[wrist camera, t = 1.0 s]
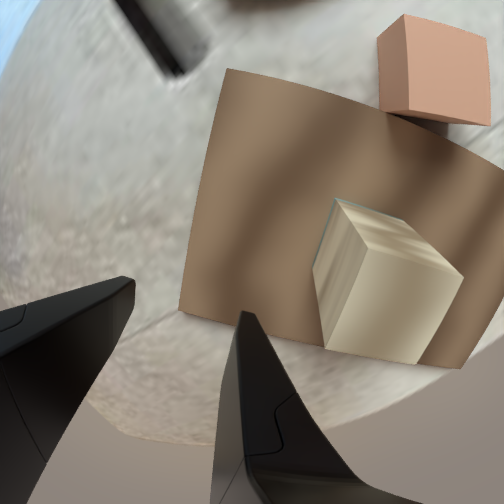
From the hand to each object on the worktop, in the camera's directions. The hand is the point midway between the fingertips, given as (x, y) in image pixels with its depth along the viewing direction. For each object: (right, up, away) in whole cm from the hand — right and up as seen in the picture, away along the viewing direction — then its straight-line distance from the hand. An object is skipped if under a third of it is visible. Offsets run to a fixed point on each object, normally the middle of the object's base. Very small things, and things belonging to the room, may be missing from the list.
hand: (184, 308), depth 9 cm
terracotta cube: (+12, +12, +7) cm, 18 cm away
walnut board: (+10, +2, +11) cm, 15 cm away
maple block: (+8, +2, +10) cm, 13 cm away
